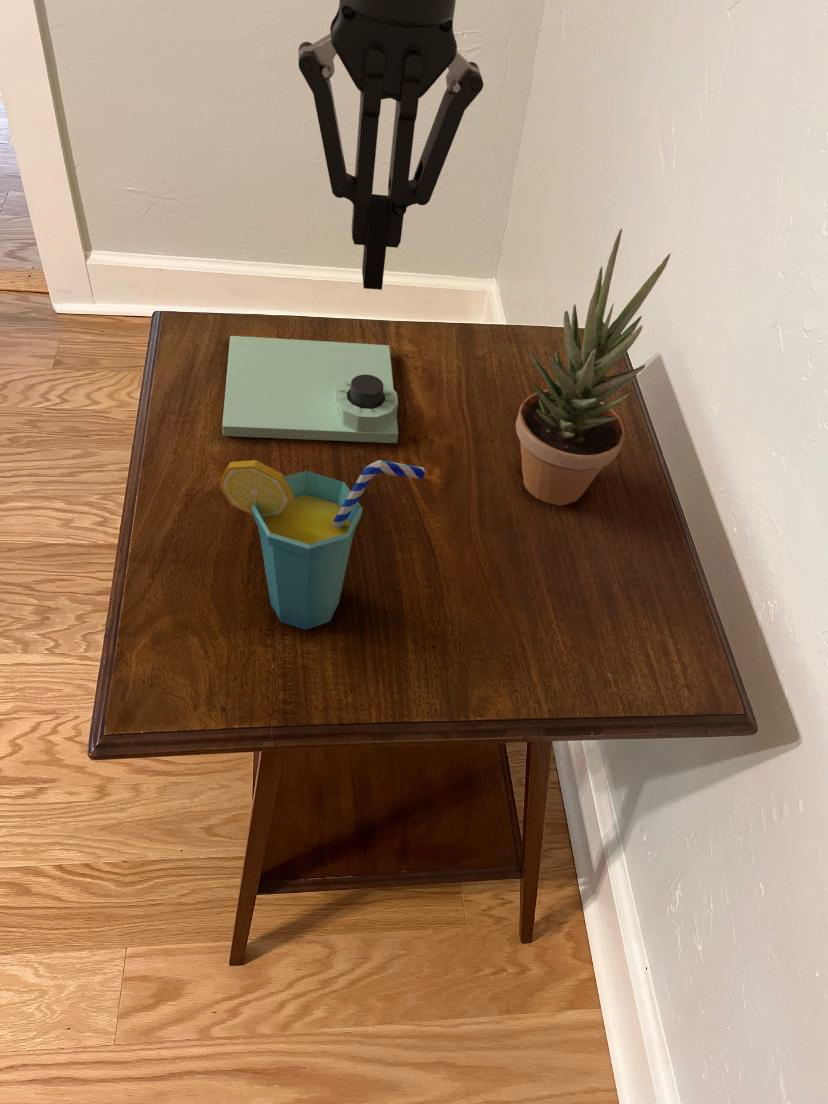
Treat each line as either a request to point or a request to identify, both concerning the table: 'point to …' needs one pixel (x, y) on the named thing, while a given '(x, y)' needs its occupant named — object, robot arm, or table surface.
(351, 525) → the cup
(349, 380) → the scale
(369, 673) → the table surface
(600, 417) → the potted plant
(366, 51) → the robot arm
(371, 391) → the tare button
